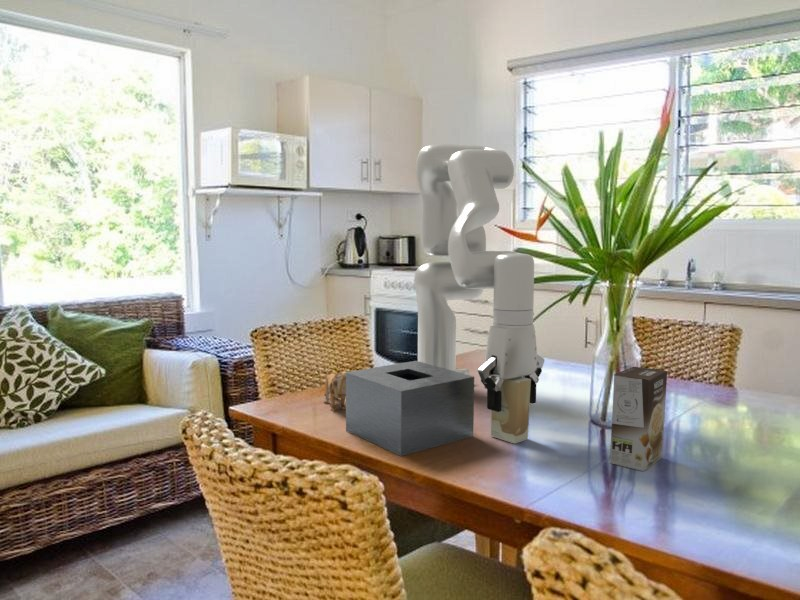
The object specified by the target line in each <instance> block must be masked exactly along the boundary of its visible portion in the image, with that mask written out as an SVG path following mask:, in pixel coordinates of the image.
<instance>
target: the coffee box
mask: <svg viewBox="0 0 800 600" xmlns="http://www.w3.org/2000/svg"><path fill="white" fill-rule="evenodd" d="M613 376H614V378H613V392H612V393H613V394H612V395H613V396H612V412H611V414H612V415H611V429H610V430H611V431H610V432H611V434H610V450H609V451H610V453H609V463H610V464H613V465H616V466H620V467H624V468H629V469H633V470H637V471H641V472H645V471H646V470H648V469H649V468H650V467H651V466H653V465H654V464H656V463H657V462H658V461H660V460H661V459H662V458H663V448H664V432H665V415H666V398H667V397H666V396H667V383H668V382H667V380H668V371H667V370H663V369H656V368H649V367H640V366H632V367H629V368H626V369H623V370H622V371H619V372H617V373H614V374H613Z"/></svg>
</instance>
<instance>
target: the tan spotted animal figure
mask: <svg viewBox="0 0 800 600" xmlns="http://www.w3.org/2000/svg"><path fill="white" fill-rule="evenodd" d="M346 372H347V371H341V372H337V373H336V374H335V373H330V374H327V377H326V380H325V394H324V397H325V398H324V401H323V404H329V398H330V411H331V412H334V411H335V412H336V410H337V406H336V400H339V399H340V402H339V403H340V404H339V407H340V409H341V410H346V404H345V403H346ZM329 396H330V397H329Z"/></svg>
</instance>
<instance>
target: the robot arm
mask: <svg viewBox="0 0 800 600" xmlns="http://www.w3.org/2000/svg"><path fill="white" fill-rule="evenodd" d="M415 161H416V163H415V174H416V180H417V183H418V187H419V191H420V196H421V228H420V229H421V233H420V234H421V238H420V239H421V247H422V251H423V253H424V254H427V255H428V256H431V257H449V259H448V260H449V261H430V262H426V263H423V264H420V266H418V267H417V269H416V270H415V272H414V276H413V277H414V280H413V281H414V287H415V288H414V289H415V295H416V300H417V301H416V302H417V361H419V362H422V363H426V364H430V365H433V366H437V367H441V368H444V369H448V370H452V371H455V372H459V373H463V374H466V375H470V371H469V369H468V368H461V369H460V368H457V367H456V363H457V362H456V360H457V359H456V357H457V356H456V355H457V353H456V352H457V350H456V349H457V319H456V315H455V312H454V311H453V310H452V308H451V307H450V305H449V304H448V302H449V301H456V300H457V301H459V300H475V299H477V298H479V297H480V296H481V295H482V294H483V292H484V290H486V289H488V290H489V289H492V290H493V314H492V315H493V318H492V319H493V320H492V322H493V323H492V324H493V325H490V327H489V331H488V336H487V340H486V342H487V343H486V347H485V348H486V350H485V362H484V363H483V364H482V365H481V366H480V367H479V368H478V369H477V372H478V376H479V377H480V382H481V383H482V384H483V386H484V389H486V390H487V391H486V409H487V410H490V411H492V410H493V411H496V412H500V411H501V402H502V392H501V391H499V389H500V387H501V385H502V383H503V381H504V380H508V379H513V378H518V377H524V378H529V379H531V388H530V404H536V403H537V383H539V380H540V378H539V377H540V376H541V374H542V372H543V367H544V364H545V358H544V357H542V356H540V355H539V354H537V352H538V351H537V350H538V349H537V338H536V337H537V336H536V330H535V325H534V316H535V312H534V297H535V293H534V291H535V289H534V287H535V261H534V258H533V256H532V255H531V254H528V253H521V252H520V253H518V252H515V251H512V250H511V251H510V250H509V251H508V250H501V251H499V250H498V251H497V250H487V236H486V230H485V228H484V226H485V225H486V224H488V223H490V222H491V221H492V220H494V219H495V218H496V217H497V216H498V213H499V212H500V204H499V199H498V198H497V194H496V191H495V190H503V189H506V188H508V187H509V186H510V185H511V184H512V182H513V179H514V175H515V169H514V168H515V167H514V163H513V161H512V158H511V157H510V155H509V154H508V153H507V152H506V151H505V150H502V149H497V148H494V147H490V146H487V145H476V144H475V145H474V144H473V145H472V144H471V145H470V144H451V143H447V144H446V143H438V144H437V143H436V144H435V143H434V144H429V145H425V146H424V147H422V148H421V149H420V150H419V152H418V155H417V157H416V160H415ZM448 182H450V184H451V185H450V184H449V183H448ZM457 210H458V211H457ZM457 212H458V213H459V216H458V215H457V214H458V213H457ZM495 379H497V381H496V382H495V383H494V380H495Z"/></svg>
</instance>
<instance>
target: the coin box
mask: <svg viewBox="0 0 800 600" xmlns="http://www.w3.org/2000/svg"><path fill="white" fill-rule="evenodd" d="M345 372H346V397H345V406H346V409H345V431H346V432H349V433H350V434H353V435H355V436H356V437H360V438H362V439H364V440H365V441H367V442H369V443H372V444H374V445H376V446H378V447H381V448H382V449H384V450H387V451H389V452H391V453H393V454H396V455H398V456H400V457H402V456H406V455H410V454H414V453H417V452H422V451H425V450H428V449H432V448H436V447H440V446H442V445H447V444H451V443H454V442H455V443H456V442H458V441H461V440H462V441H463V440H465V439H468V438H473V437H474V426H475V425H474V419H475V418H474V417H475V414H474V413H475V410H474V409H475V376H473V375H470V374H469V375H466V374H463V373H459V372H455V371H452V370H448V369H444V368H441V367H437V366H433V365H430V364H426V363H422V362H419V361H418V360H413V361H407V362H400V363H393V364H389V365H388V364H387V365H381V366H377V367H370V368H364V369H359V370H358V369H357V370H352V371H345Z"/></svg>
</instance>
